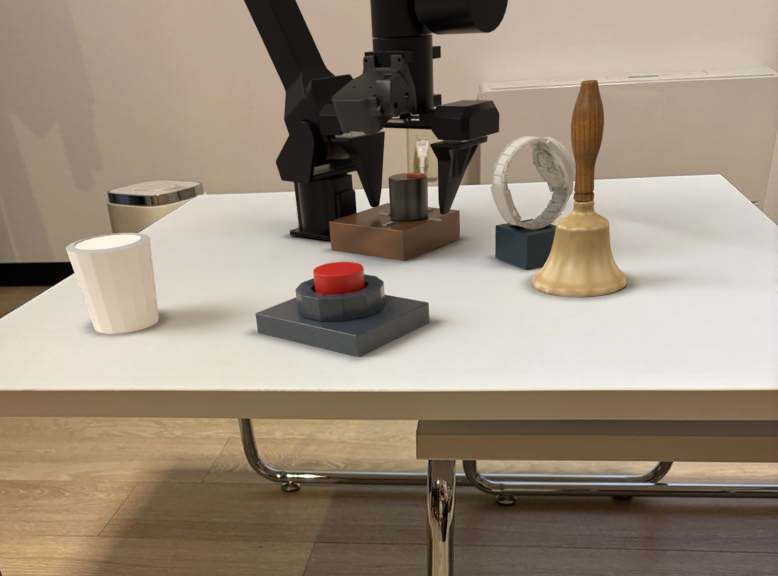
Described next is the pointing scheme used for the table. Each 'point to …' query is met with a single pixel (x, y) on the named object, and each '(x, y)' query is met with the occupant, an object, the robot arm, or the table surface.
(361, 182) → the robot arm
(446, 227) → the dial panel
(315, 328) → the button box
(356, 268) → the button
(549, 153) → the watch
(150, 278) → the white cup
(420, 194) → the dial
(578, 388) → the table surface
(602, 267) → the hand bell
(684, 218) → the table surface
